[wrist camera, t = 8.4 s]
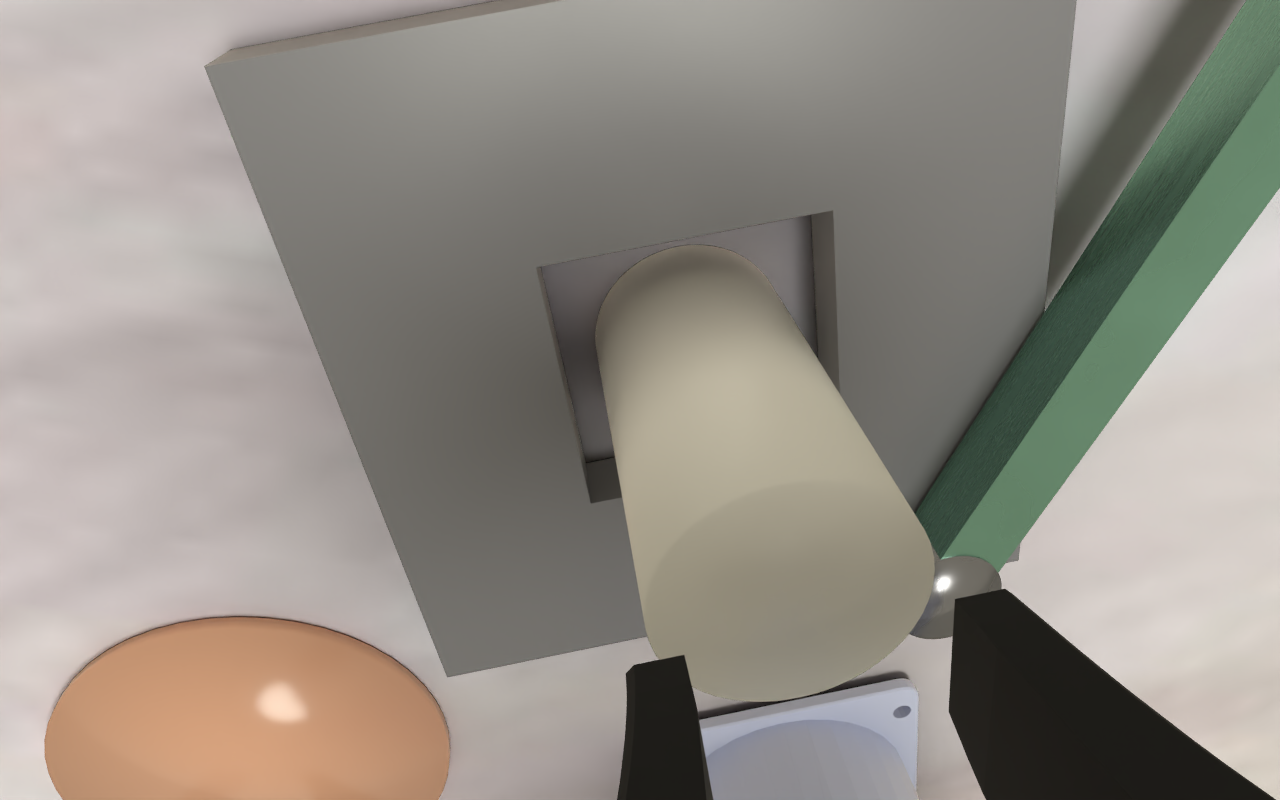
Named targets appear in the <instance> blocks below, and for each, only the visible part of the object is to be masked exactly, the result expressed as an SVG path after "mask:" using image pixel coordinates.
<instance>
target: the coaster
mask: <svg viewBox="0 0 1280 800" xmlns="http://www.w3.org/2000/svg"><path fill="white" fill-rule="evenodd" d="M449 758H450V740H449V731H448V728H447V725H446V721H445V718H444V715H443V713H442V711H441V710H440V708H439V706H438V704H437V702H436V700H435V699H434V698H433V696H432V695H431V694H430V692H429V691H428V690H427V688H426V687H425V686H424V685H423V684H422V683H421V682H420V681H419V680H418V679H417V678H416V677H415V676H414V675H413V674H412V673H411V672H410V671H409V670H407V669H406V668H405V667H403V666H402V665H401V664H399V663H398V662H397V661H395V660H394V659H393V658H391V657H389V656H388V655H386V654H384V653H382V652H381V651H379V650H377V649H375V648H374V647H372V646H370V645H367V644H365V643H363V642H361V641H358V640H356V639H354V638H351V637H349V636H347V635H343V634H340V633H337V632H334V631H331V630H328V629H325V628H321V627H317V626H312V625H308V624H303V623H299V622H294V621H286V620H278V619H270V618H251V617H228V618H210V619H202V620H196V621H189V622H183V623H178V624H174V625H170V626H166V627H162V628H158V629H154V630H151V631H149V632H146V633H143V634H141V635H138V636H135V637H133V638H130V639H128V640H126V641H124V642H122V643H120V644H118V645H116V646H114V647H113V648H111V649H109V650H107V651H106V652H104V653H103V654H101V655H100V656H98V657H97V658H96V659H94V660H93V661H91V662H90V663H89V664H88V665H87V666H86V667H85V668H84V669H83V670H82V671H80V672H79V673H78V674H77V675H76V676H75V677H74V679H73V680H72V681H71V683H70V684H69V685H68V687H67V688H66V690H65V691H64V692H63V694H62V696H61V698H60V699H59V701H58V703H57V705H56V707H55V709H54V711H53V713H52V716H51V718H50V720H49V722H48V726H47V731H46V736H45V760H46V764H47V768H48V772H49V775H50V777H51V780H52V782H53V784H54V786H55V788H56V790H57V792H58V793H59V794H60V796H61V797H62V799H63V800H438V799H439V797H440V795H441V793H442V791H443V789H444V786H445V783H446V779H447V776H448V768H449Z"/></svg>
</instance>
